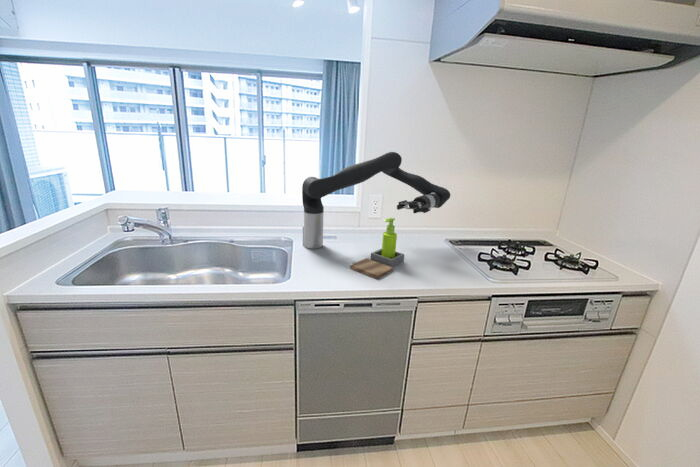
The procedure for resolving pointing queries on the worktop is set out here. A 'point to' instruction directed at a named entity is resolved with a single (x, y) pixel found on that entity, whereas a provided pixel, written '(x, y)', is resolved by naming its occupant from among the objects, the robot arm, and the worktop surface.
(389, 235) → the soap dispenser
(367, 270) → the board
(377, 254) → the tray
